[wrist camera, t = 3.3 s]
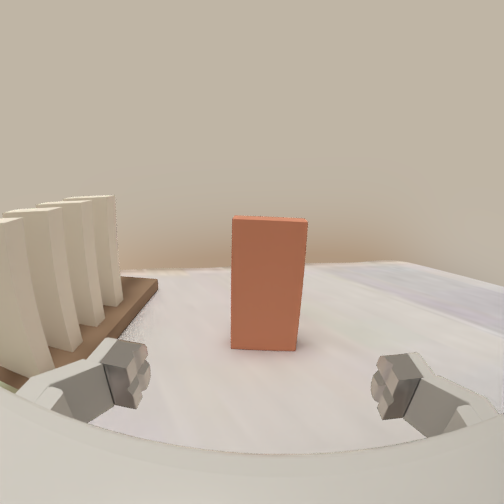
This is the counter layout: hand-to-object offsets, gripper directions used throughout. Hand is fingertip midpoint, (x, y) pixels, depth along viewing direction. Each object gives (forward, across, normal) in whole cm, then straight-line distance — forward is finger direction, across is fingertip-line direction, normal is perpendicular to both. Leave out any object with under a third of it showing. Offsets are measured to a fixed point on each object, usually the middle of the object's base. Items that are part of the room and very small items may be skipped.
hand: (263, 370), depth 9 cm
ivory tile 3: (+7, +16, +6) cm, 18 cm away
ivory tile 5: (+15, +16, +6) cm, 23 cm away
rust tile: (+12, 0, +7) cm, 14 cm away
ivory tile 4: (+11, +16, +6) cm, 20 cm away
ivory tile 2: (+3, +16, +6) cm, 17 cm away
